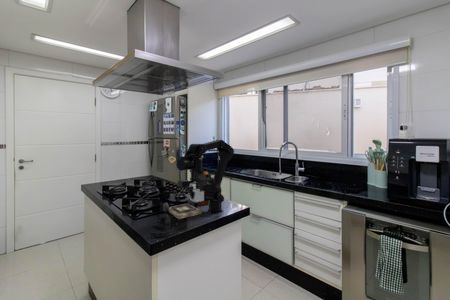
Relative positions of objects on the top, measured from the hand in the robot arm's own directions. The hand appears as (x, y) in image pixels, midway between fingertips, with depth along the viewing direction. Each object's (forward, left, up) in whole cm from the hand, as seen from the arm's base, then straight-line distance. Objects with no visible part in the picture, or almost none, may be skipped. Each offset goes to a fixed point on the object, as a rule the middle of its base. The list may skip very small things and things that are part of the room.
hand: (196, 198), depth 118 cm
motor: (-17, -22, -11) cm, 30 cm away
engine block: (0, 0, -1) cm, 1 cm away
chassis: (+1, -14, -11) cm, 18 cm away
